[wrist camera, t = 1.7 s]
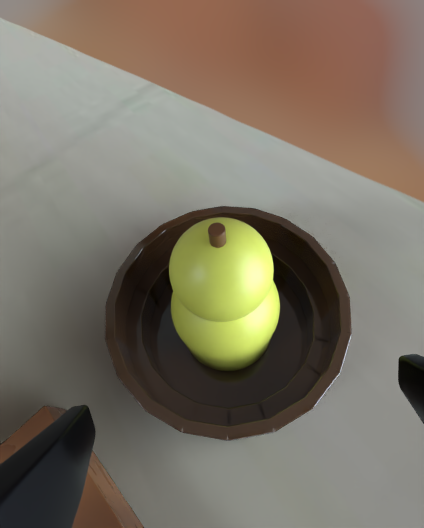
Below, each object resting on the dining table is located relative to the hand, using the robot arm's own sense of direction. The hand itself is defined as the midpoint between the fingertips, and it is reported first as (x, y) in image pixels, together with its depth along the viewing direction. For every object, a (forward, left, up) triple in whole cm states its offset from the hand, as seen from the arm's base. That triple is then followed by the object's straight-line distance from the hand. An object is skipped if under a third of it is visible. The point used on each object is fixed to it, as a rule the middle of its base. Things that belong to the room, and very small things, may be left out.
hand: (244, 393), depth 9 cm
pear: (+5, -4, -12) cm, 13 cm away
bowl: (+5, -4, -12) cm, 14 cm away
